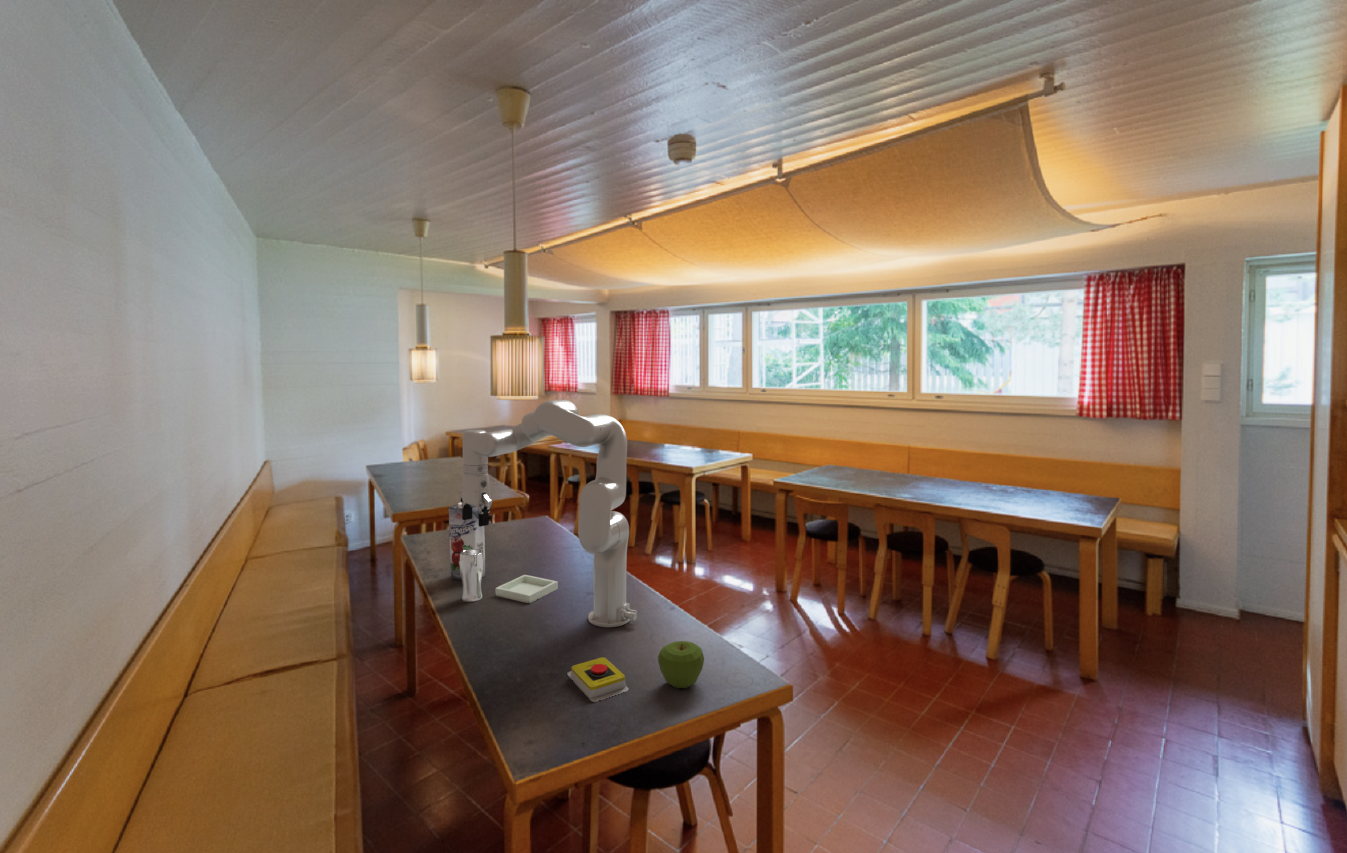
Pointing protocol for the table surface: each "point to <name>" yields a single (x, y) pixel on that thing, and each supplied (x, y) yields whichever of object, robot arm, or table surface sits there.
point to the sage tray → (526, 588)
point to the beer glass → (471, 574)
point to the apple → (681, 663)
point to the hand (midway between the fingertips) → (475, 522)
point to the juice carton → (464, 537)
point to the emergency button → (598, 679)
